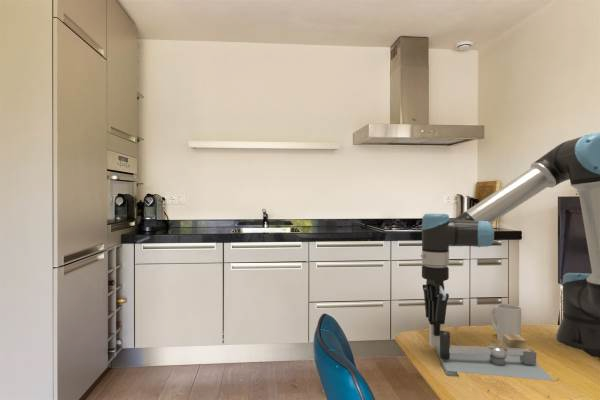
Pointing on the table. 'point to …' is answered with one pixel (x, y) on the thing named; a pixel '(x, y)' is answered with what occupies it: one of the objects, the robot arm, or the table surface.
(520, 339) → the block
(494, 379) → the table surface
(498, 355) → the lever
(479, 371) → the base
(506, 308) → the mug
